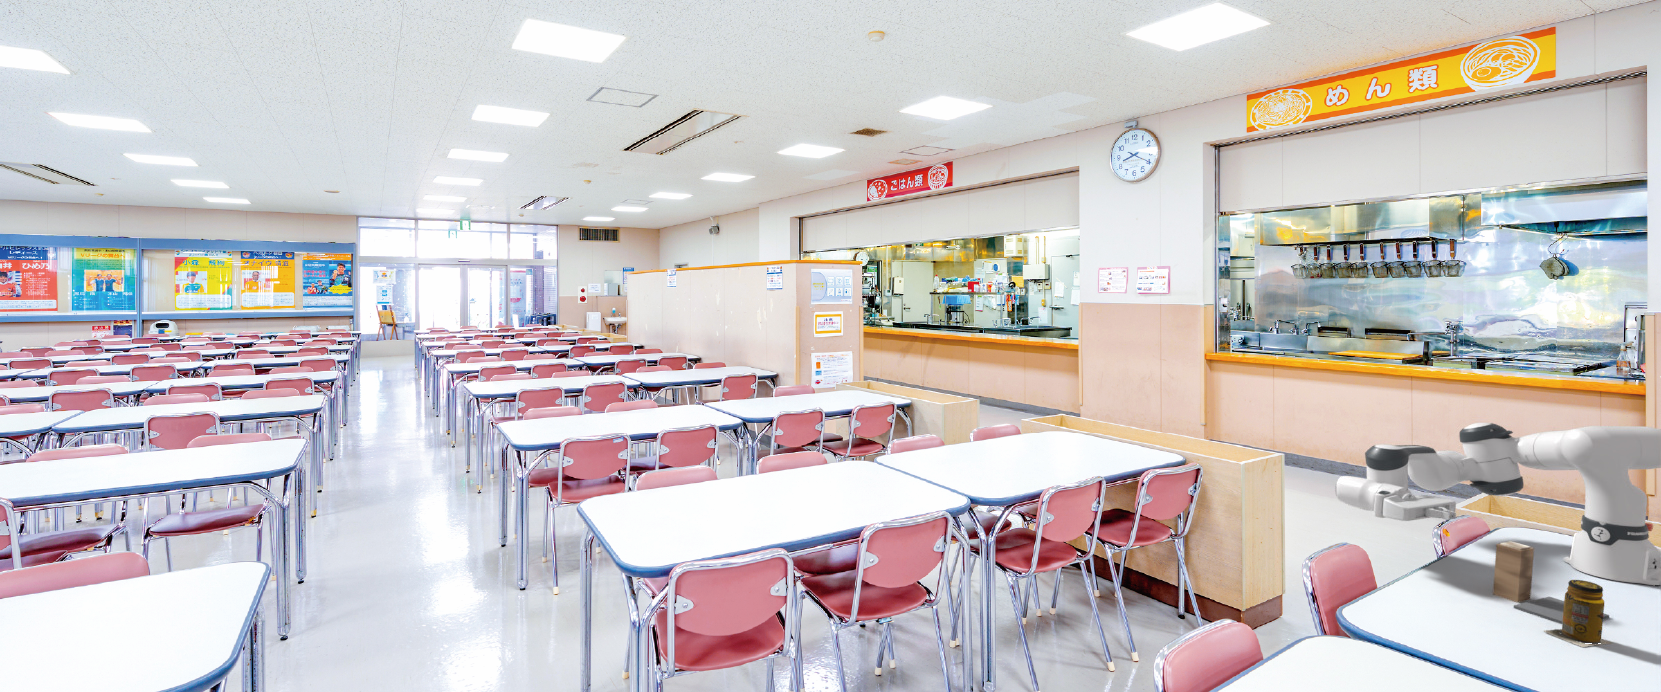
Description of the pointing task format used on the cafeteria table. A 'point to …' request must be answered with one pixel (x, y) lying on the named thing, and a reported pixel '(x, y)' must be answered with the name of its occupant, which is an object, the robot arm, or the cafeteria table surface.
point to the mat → (1546, 608)
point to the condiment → (1582, 614)
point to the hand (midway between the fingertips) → (1452, 516)
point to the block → (1513, 571)
